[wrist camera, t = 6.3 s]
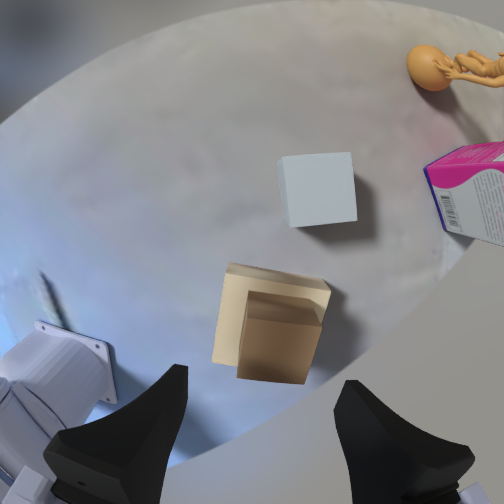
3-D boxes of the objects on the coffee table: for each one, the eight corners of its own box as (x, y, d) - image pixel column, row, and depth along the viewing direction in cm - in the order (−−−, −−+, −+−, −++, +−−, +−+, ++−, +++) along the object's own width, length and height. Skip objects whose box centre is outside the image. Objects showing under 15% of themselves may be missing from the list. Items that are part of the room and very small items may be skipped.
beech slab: (216, 341, 22) (211, 362, 19) (229, 260, 21) (225, 273, 18) (298, 353, 22) (304, 375, 19) (321, 277, 21) (331, 291, 18)
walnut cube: (239, 342, 19) (236, 377, 15) (248, 290, 18) (247, 317, 14) (295, 349, 19) (304, 384, 15) (308, 298, 18) (322, 326, 14)
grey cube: (283, 219, 20) (290, 227, 16) (276, 162, 19) (282, 156, 15) (337, 213, 19) (357, 220, 15) (332, 158, 18) (350, 152, 15)
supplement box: (481, 203, 19) (576, 223, 8) (442, 231, 19) (545, 268, 8) (463, 143, 18) (562, 136, 6) (420, 166, 18) (532, 164, 7)
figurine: (432, 46, 15) (513, -3, 4) (466, 103, 17) (561, 80, 5) (371, 67, 16) (457, -8, 5) (411, 133, 18) (526, 106, 6)
